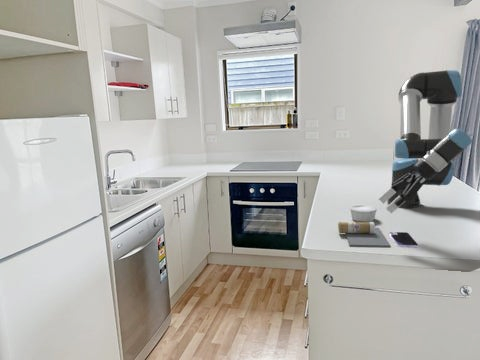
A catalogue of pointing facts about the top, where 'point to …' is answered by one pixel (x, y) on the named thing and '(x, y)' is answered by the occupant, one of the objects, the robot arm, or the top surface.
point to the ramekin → (363, 213)
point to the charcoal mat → (368, 239)
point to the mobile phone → (403, 239)
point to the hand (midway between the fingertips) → (384, 205)
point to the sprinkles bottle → (356, 227)
